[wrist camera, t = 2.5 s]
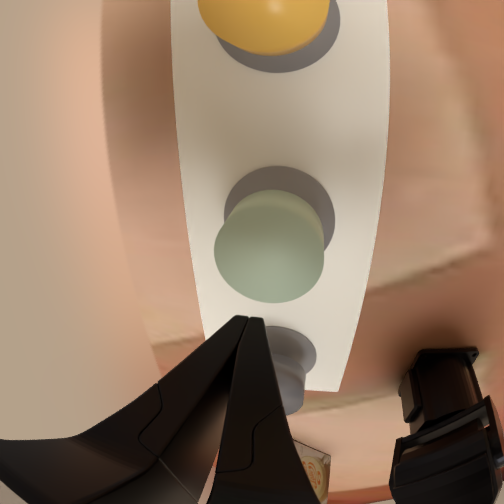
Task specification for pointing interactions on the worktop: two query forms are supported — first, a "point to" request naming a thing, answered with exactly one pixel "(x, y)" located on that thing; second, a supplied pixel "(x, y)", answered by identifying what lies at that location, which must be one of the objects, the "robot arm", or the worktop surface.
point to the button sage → (271, 247)
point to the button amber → (265, 23)
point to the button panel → (287, 165)
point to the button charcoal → (290, 382)
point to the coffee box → (316, 469)
